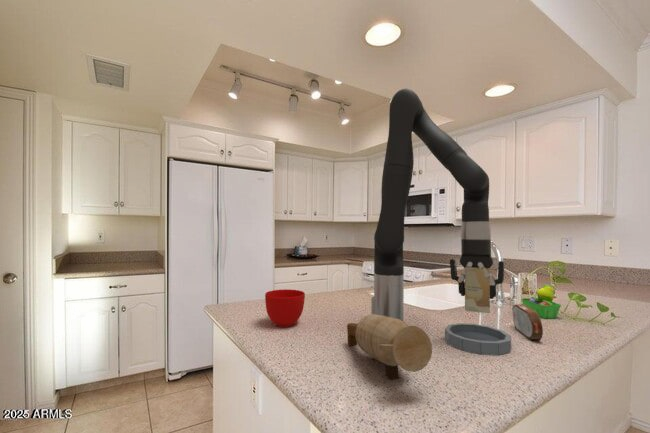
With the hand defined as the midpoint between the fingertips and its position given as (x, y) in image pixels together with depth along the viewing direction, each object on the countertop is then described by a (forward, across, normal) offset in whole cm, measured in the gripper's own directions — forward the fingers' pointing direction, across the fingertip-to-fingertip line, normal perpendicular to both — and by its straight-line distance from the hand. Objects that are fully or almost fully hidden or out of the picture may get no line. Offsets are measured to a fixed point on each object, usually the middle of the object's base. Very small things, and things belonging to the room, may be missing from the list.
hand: (476, 296), depth 87 cm
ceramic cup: (+12, +56, +18) cm, 60 cm away
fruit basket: (+14, -15, -47) cm, 51 cm away
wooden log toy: (+13, +16, +30) cm, 36 cm away
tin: (+13, -11, -17) cm, 24 cm away
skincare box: (+4, 0, 0) cm, 4 cm away
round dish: (+13, 0, 0) cm, 13 cm away
